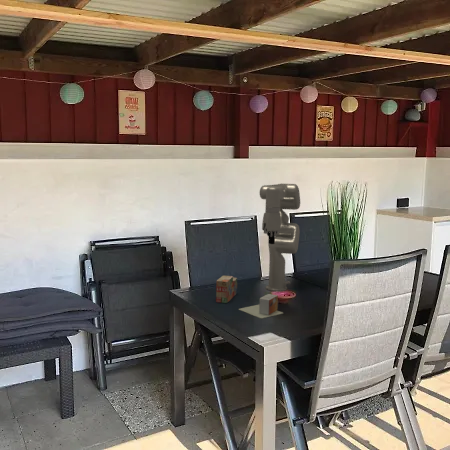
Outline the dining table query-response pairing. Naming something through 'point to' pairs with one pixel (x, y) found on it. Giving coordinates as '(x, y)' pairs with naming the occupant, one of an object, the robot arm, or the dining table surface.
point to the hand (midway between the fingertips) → (271, 243)
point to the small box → (268, 304)
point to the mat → (255, 312)
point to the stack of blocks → (226, 288)
